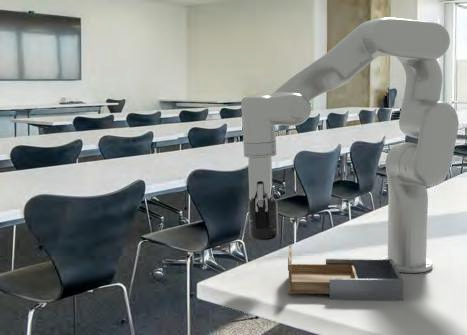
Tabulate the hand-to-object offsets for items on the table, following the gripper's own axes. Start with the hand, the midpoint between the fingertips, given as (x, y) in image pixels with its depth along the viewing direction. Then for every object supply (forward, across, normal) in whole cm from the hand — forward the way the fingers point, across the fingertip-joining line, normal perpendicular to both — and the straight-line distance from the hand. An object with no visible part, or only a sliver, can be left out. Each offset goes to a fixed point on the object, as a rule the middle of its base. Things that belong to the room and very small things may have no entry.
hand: (263, 223), depth 138 cm
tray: (+14, +3, +13) cm, 19 cm away
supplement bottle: (+3, 0, 0) cm, 3 cm away
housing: (+15, +3, +22) cm, 27 cm away
